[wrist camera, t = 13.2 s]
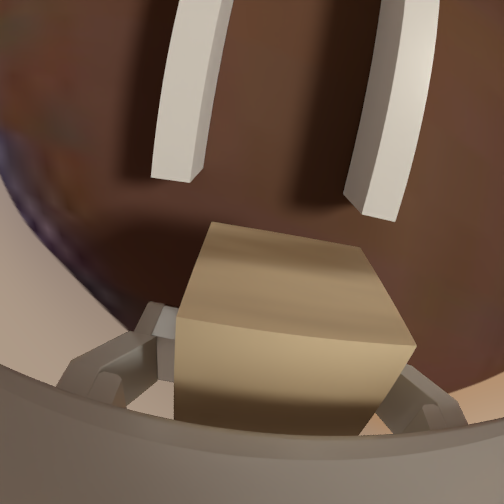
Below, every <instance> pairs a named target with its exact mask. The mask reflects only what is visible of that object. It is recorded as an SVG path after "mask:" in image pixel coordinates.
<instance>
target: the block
mask: <svg viewBox="0 0 504 504" xmlns="http://www.w3.org/2000/svg"><path fill="white" fill-rule="evenodd" d="M416 346H417V345H416V343H415V341H414V340H413V338H412V336H411V334H410V332H409V330H408V328H407V327H406V325H405V323H404V321H403V319H402V318H401V316H400V314H399V312H398V310H397V309H396V307H395V305H394V303H393V302H392V300H391V298H390V296H389V295H388V293H387V291H386V290H385V288H384V286H383V284H382V283H381V281H380V279H379V278H378V276H377V274H376V273H375V271H374V269H373V268H372V266H371V265H370V263H369V261H368V260H367V258H366V256H365V255H364V253H363V252H362V250H361V248H359V247H354V246H349V245H343V244H338V243H332V242H327V241H321V240H316V239H310V238H305V237H299V236H293V235H288V234H282V233H276V232H270V231H265V230H259V229H253V228H247V227H241V226H235V225H229V224H223V223H217V222H211V225H210V227H209V230H208V232H207V235H206V238H205V240H204V243H203V245H202V248H201V250H200V253H199V256H198V258H197V261H196V264H195V266H194V269H193V272H192V274H191V277H190V280H189V282H188V285H187V288H186V291H185V293H184V296H183V299H182V302H181V304H180V307H179V310H178V313H177V315H176V331H175V360H174V420H177V421H183V422H188V423H194V424H200V425H206V426H212V427H219V428H226V429H234V430H243V431H252V432H262V433H274V434H289V435H311V436H358V435H359V434H360V432H361V431H362V430H363V428H364V427H365V426H366V424H367V423H368V421H369V420H370V419H371V417H372V416H373V415H374V413H375V412H376V410H377V409H378V407H379V406H380V404H381V403H382V402H383V400H384V399H385V397H386V396H387V394H388V392H389V391H390V389H391V388H392V386H393V385H394V383H395V382H396V380H397V378H398V377H399V375H400V374H401V372H402V370H403V369H404V367H405V365H406V364H407V362H408V360H409V359H410V357H411V355H412V353H413V352H414V350H415V348H416Z"/></svg>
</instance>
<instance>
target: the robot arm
mask: <svg viewBox="0 0 504 504" xmlns="http://www.w3.org/2000/svg"><path fill="white" fill-rule="evenodd" d="M178 310H179V307H178V306H173V305H168V304H163V303H158V302H153V301H150V302H149V303H148V304H147V306H146V308H145V310H144V312H143V314H142V316H141V318H140V320H139V322H138V324H137V326H136V328H135V330H134V332H133V331H128V332H126V333H124V334H122V335H121V336H118V337H116V338H114V339H112V340H110V341H108V342H107V343H105V344H103V345H101V346H99V347H97V348H95V349H93V350H91V351H89V352H87V353H85V354H83V355H81V356H79V357H77V358H75V359H73V360H71V362H70V363H69V365H68V367H67V368H66V370H65V372H64V373H63V375H62V377H61V379H60V380H59V382H58V384H57V386H56V387H54V386H52V385H49V384H47V383H44V382H41V381H39V380H36V379H34V378H31V377H29V376H26V375H24V374H21V373H19V372H17V371H14V370H12V369H10V368H8V367H6V366H3V365H1V364H0V504H504V417H503V418H499V419H494V420H490V421H485V422H480V423H474V424H469V425H468V423H467V421H466V419H465V417H464V415H463V412H462V410H461V408H460V406H459V404H458V402H457V401H456V400H455V399H454V398H452V397H451V396H450V395H449V394H447V393H446V392H445V391H443V390H442V389H441V388H440V387H438V386H437V385H436V384H434V383H433V382H432V381H430V380H429V379H428V378H427V377H425V376H424V375H423V374H421V373H420V372H419V371H418V370H416V369H415V368H414V367H412V366H411V365H407V364H406V365H405V367H404V369H403V370H402V372H401V374H400V375H399V377H398V378H397V380H396V382H395V383H394V385H393V386H392V388H391V389H390V391H389V392H388V394H387V396H386V397H385V399H384V400H383V402H382V403H381V404H380V406H379V407H378V409H377V410H376V412H375V413H376V414H377V415H378V416H379V417H380V419H381V420H382V421H383V422H384V423H385V424H386V426H387V427H388V428H389V429H390V430H391V431H392V432H393V434H386V435H363V436H311V435H289V434H274V433H262V432H252V431H243V430H234V429H226V428H219V427H212V426H206V425H200V424H194V423H188V422H183V421H177V420H172V419H167V418H163V417H158V416H153V415H149V414H145V413H140V412H136V411H132V410H129V409H127V408H126V406H127V405H128V404H130V403H131V402H132V401H133V400H135V399H136V398H137V397H138V396H139V395H141V394H142V393H143V392H144V391H146V390H147V389H148V388H149V387H150V386H152V385H153V384H154V383H155V382H156V381H157V379H158V380H163V381H169V382H174V360H175V331H176V315H177V313H178Z"/></svg>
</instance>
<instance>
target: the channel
mask: <svg viewBox="0 0 504 504" xmlns="http://www.w3.org/2000/svg"><path fill="white" fill-rule="evenodd" d="M232 4H233V0H180V1H179V5H178V9H177V13H176V18H175V22H174V27H173V31H172V36H171V41H170V46H169V51H168V56H167V62H166V67H165V73H164V79H163V85H162V91H161V97H160V104H159V111H158V118H157V126H156V134H155V142H154V151H153V160H152V171H151V177H152V178H159V179H167V180H174V181H181V182H188V183H190V182H191V181H192V180H193V179H194V178H195V176H196V175H197V174H198V173H199V172H200V171H201V170H202V169H203V165H204V158H205V151H206V144H207V138H208V131H209V125H210V119H211V113H212V107H213V101H214V95H215V89H216V84H217V78H218V73H219V68H220V62H221V57H222V52H223V47H224V42H225V37H226V32H227V27H228V23H229V18H230V13H231V9H232ZM438 12H439V0H381V7H380V14H379V21H378V27H377V34H376V40H375V46H374V52H373V58H372V63H371V69H370V74H369V80H368V85H367V90H366V95H365V100H364V105H363V110H362V115H361V119H360V124H359V128H358V133H357V137H356V142H355V146H354V150H353V155H352V159H351V163H350V167H349V171H348V175H347V179H346V183H345V187H344V191H343V195H344V196H345V197H346V198H347V199H348V200H349V201H350V202H351V203H352V204H353V205H354V206H355V207H356V209H357V210H358V211H359V212H360V213H361V214H363V215H367V216H372V217H376V218H381V219H385V220H389V221H393V222H395V220H396V217H397V214H398V211H399V208H400V204H401V201H402V198H403V194H404V191H405V187H406V184H407V180H408V176H409V173H410V169H411V165H412V161H413V157H414V153H415V149H416V145H417V141H418V137H419V132H420V128H421V123H422V118H423V114H424V109H425V104H426V98H427V93H428V88H429V82H430V76H431V70H432V63H433V56H434V49H435V41H436V32H437V23H438Z"/></svg>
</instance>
